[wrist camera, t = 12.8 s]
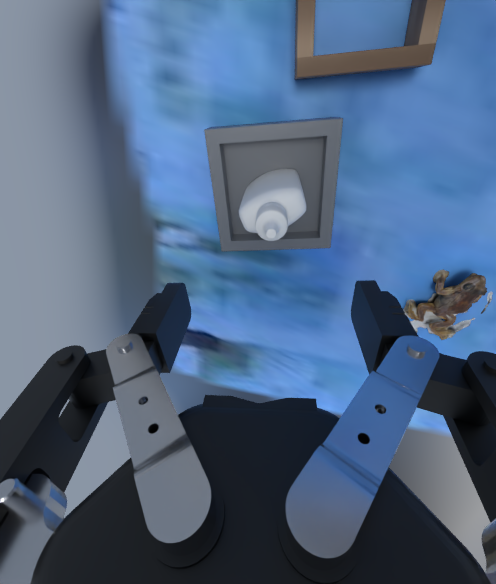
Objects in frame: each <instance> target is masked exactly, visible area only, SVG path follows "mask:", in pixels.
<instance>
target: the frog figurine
mask: <svg viewBox="0 0 496 584" xmlns="http://www.w3.org/2000/svg"><path fill="white" fill-rule="evenodd" d="M448 275H449V272H448V271H445V270H439V271H438V272H437V273H436V274H435V275H434V277H433V281H434V282H435V283H436V286H435V290H436V293H435V294H433V295H432V297H431V298H430V299H429V300H428V302H427V303H420V304H418V306H417V304H416V302H415V301H414V300H407V302H406V306H405V308H404V309H403V310H404V312H405V315H406V316H408V317H409V318H411V319H414V321H410V323H411V324H412V326H413V328H414V330H415V331H416V332H417V328H418V327H422V328H428V331H429V333H431V334H435V335H438V336H439V337H440V339H441V340H444V339H447V338H451V337H452V336H453V335H454V334H455V333H456V332H458V331H460V330H461V329H463V328H465V327H467V326H469V325H470V323H471V322H470V321H471V320H474V318H473V319H471V320H466V321H462V322H460V323H458V324H456V325H453V323H454V322H455V320H456V317H455V316H456V315H457V314H458V313H466V312H467V310H468V309H469V308H470V307H471V306H472V303H475V302H478V300H479V299H480V298H481V296H482V295H485V294H486V292H487V291H486V290H487V288H486V287H485V284H486V279H485V277H484V276H482V275H477V274H475V273H472V274H471V275H470V276H469V277H467V278H466V279H465V280H463V281H462V282H461V283H460V284H459V285H456V286H450V287H446V288H444V287H443V286H444V282H445V280H446V278H447V277H448ZM492 294H493V293H492V292H490V293H489V294H488V296H487V301H488V303H487V305H485V308H484V310H483V311H482V313H483V312H484V311H485V309H486V307H487V306H488V304H489V303H490V302H491V300H492ZM482 313H481V314H482ZM441 319H444V320H445V321H443V320H441Z"/></svg>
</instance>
